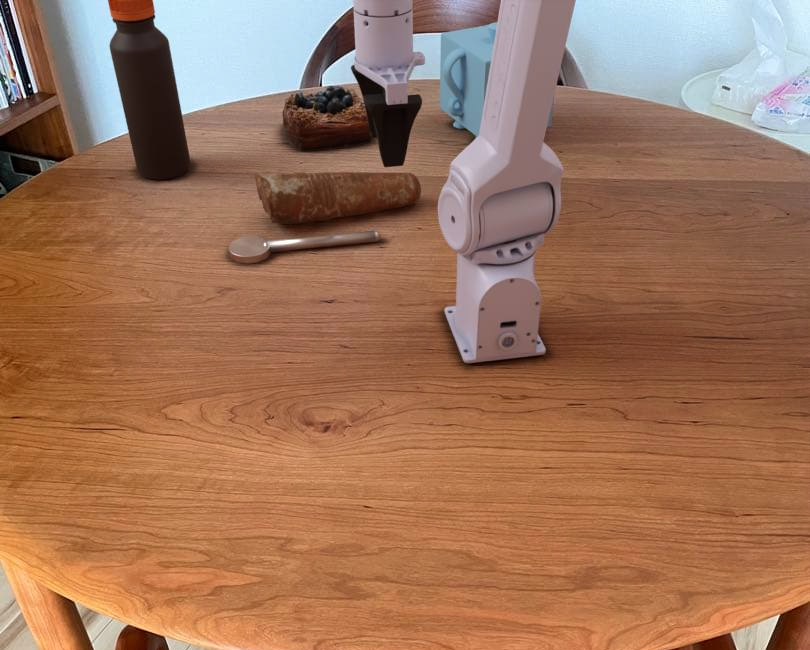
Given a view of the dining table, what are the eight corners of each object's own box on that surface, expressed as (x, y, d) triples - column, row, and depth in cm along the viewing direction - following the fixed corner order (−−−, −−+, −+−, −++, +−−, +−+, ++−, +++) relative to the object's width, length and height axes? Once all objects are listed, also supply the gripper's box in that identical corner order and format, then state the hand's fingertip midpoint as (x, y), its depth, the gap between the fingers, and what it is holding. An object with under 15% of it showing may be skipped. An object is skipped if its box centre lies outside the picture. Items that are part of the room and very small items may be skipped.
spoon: (383, 250, 101) (383, 240, 100) (230, 265, 99) (229, 255, 98) (377, 231, 104) (376, 221, 103) (228, 245, 102) (227, 235, 101)
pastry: (277, 124, 126) (272, 79, 122) (360, 112, 128) (358, 68, 124) (294, 155, 119) (289, 109, 114) (382, 143, 121) (381, 97, 117)
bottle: (175, 184, 113) (139, 4, 99) (127, 176, 115) (85, -1, 100) (200, 162, 117) (170, -13, 103) (154, 155, 119) (118, -18, 105)
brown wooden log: (258, 213, 107) (252, 166, 103) (414, 194, 110) (414, 147, 106) (266, 237, 103) (259, 190, 99) (428, 217, 106) (428, 170, 102)
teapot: (422, 123, 125) (423, 19, 116) (520, 103, 130) (528, 2, 121) (484, 174, 114) (490, 64, 105) (590, 150, 118) (604, 43, 109)
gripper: (439, 28, 83) (437, 175, 93) (410, -16, 93) (411, 121, 103) (363, 34, 82) (369, 181, 92) (341, -11, 92) (349, 126, 102)
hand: (387, 150), depth 97 cm, fingers open, 7 cm apart
